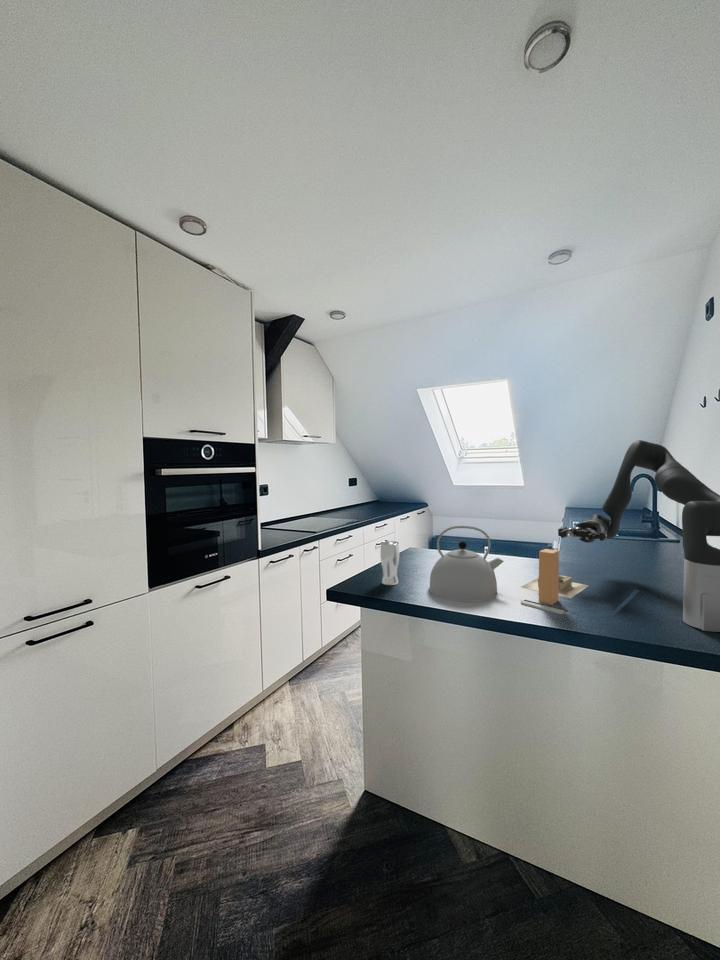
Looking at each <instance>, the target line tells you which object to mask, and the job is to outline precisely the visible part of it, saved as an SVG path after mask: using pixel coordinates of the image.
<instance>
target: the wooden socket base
mask: <svg viewBox="0 0 720 960" xmlns="http://www.w3.org/2000/svg"><path fill="white" fill-rule="evenodd" d="M572 579H573V578H572V576H568V575H567V576H566V575H562V574H559V597H563V598H567V599H572V598H573V597H575V596H577V595H578V594H579V593H581V592H582V591H584V590H585V589H587V588H588V587H589V586H590V585H587V584H585V583H583V584H582V583H578V582H573V581H572ZM520 588H522V589H528V590H531V591H536V592H539V577H538V578H535V579H534V580H532V581H529V582H527V583H526V584H523V585H521V586H520Z"/></svg>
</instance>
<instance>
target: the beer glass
mask: <svg viewBox="0 0 720 960" xmlns="http://www.w3.org/2000/svg"><path fill="white" fill-rule="evenodd" d="M379 554H380V564H381V567H382V579H381V584H382V585H385V586H396V585H398V584H399V578H398V568H399V563H400V545H399V542H398V541H394V540H385V541H381V542H380V551H379Z"/></svg>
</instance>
